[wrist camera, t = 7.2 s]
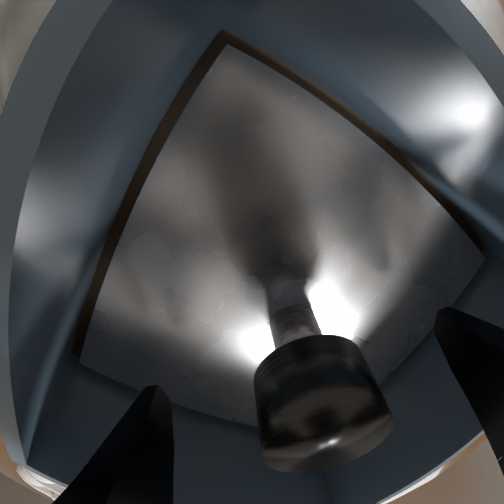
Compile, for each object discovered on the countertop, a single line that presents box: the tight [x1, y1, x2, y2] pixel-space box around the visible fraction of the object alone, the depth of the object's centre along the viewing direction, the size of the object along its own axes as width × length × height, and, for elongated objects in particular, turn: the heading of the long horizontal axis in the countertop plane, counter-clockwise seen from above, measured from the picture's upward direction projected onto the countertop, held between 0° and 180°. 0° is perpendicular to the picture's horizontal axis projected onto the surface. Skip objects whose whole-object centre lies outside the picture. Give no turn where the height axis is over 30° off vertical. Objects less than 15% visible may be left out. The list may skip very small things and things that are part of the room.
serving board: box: [72, 29, 486, 358], centre depth 11 cm, size 20×19×2 cm
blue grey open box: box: [0, 0, 504, 504], centre depth 8 cm, size 15×17×6 cm
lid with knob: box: [79, 44, 486, 473], centre depth 8 cm, size 13×13×6 cm
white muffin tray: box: [16, 464, 66, 500], centre depth 21 cm, size 3×18×15 cm
